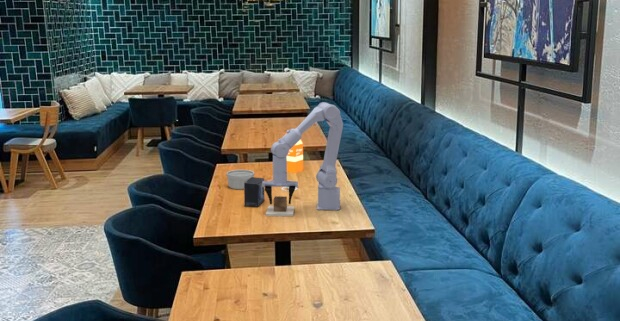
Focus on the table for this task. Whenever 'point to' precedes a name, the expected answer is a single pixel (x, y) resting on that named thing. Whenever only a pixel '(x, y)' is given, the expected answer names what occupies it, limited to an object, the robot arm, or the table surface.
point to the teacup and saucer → (287, 188)
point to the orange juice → (295, 158)
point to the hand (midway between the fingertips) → (280, 203)
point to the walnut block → (280, 204)
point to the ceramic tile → (288, 212)
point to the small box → (253, 192)
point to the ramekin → (238, 178)
